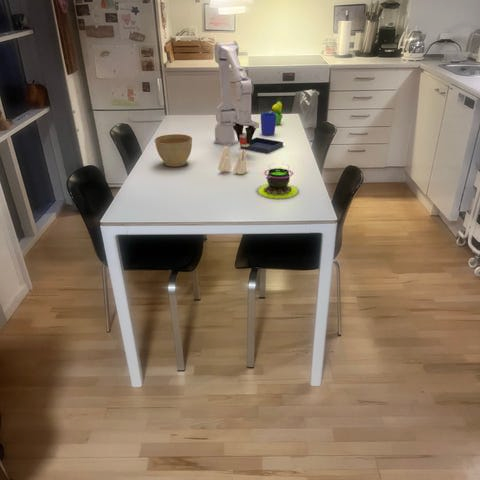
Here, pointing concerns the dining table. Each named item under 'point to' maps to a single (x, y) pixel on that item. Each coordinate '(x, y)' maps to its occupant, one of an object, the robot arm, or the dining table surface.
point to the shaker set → (226, 162)
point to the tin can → (243, 140)
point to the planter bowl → (174, 149)
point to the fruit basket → (277, 112)
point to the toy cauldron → (278, 184)
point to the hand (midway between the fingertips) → (244, 142)
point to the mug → (268, 123)
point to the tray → (263, 145)
